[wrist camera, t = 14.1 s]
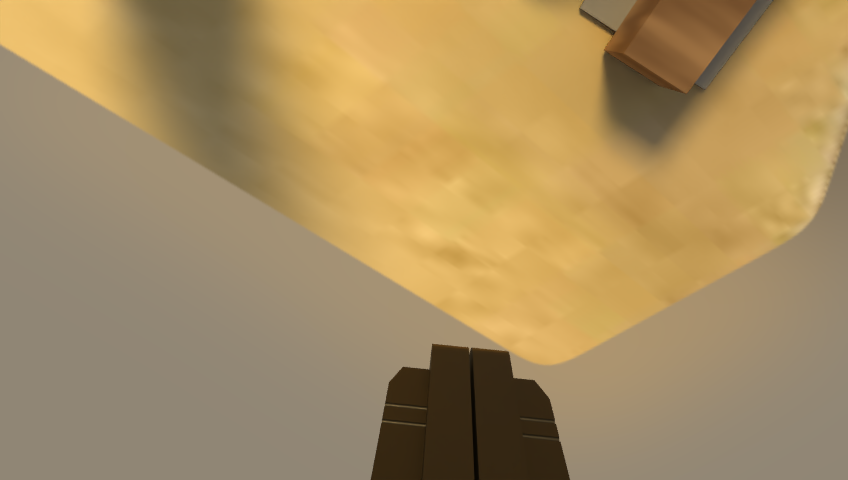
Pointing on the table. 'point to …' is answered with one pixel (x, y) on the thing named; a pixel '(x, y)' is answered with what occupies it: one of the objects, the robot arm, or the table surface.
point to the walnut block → (675, 38)
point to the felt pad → (613, 4)
